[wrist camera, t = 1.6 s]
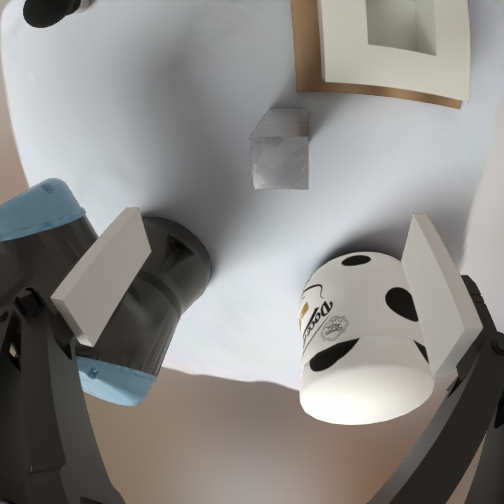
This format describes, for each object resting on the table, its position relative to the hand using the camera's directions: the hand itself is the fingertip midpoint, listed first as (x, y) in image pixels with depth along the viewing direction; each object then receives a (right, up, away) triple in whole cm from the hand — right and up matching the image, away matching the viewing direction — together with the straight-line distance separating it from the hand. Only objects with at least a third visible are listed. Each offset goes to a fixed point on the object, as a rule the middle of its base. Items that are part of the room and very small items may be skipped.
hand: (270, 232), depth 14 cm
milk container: (+15, -6, +28) cm, 32 cm away
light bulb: (-21, +29, +8) cm, 37 cm away
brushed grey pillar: (+3, +13, +16) cm, 21 cm away
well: (+12, +21, +6) cm, 25 cm away
